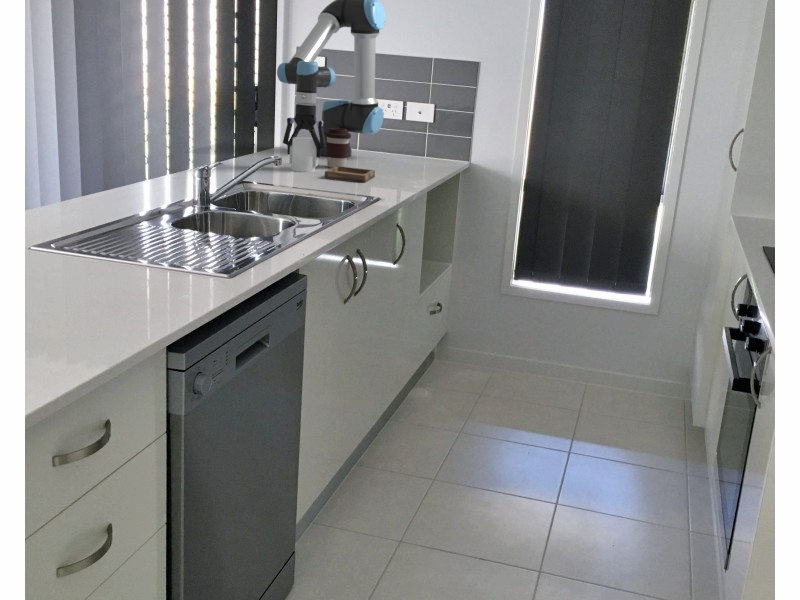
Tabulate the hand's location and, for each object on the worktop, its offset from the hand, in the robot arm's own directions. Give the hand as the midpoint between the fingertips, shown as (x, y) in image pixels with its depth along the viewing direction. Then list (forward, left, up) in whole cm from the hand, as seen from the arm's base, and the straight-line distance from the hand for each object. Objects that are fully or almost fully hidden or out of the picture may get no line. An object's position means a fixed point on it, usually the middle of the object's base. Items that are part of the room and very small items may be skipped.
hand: (303, 164), depth 323 cm
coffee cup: (-14, +9, -2) cm, 17 cm away
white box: (0, 0, -2) cm, 2 cm away
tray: (+6, +20, -2) cm, 21 cm away
